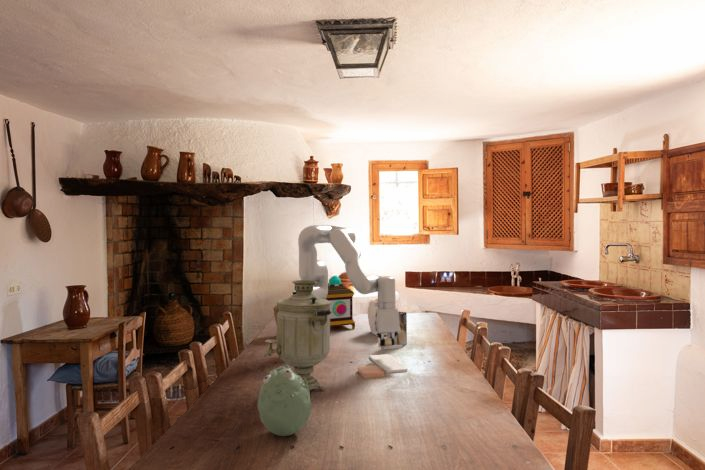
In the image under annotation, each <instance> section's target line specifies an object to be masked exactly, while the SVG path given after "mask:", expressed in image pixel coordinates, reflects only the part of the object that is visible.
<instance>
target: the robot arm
mask: <svg viewBox="0 0 705 470" xmlns="http://www.w3.org/2000/svg"><path fill="white" fill-rule="evenodd" d="M297 241H298V243H297V244H298V277H299V279H300V280H312V281H316V283H315V284H314V285H313V291H312V294H313V295H315V296H317V297H318V298H321V299H326V297H327V294H328V283H329V270H328V266H327V265H326V263H325V262H324V261H323V260H319V259H318V251H317V248H316V246H315V245H317V244H330V245H331V247H332V248H333V249H334V250H335V252H336V254H338V256H339V258H340V259H341V260H342V262H343V263H344V268H345V272H346V276H347V279H348V280H349V282H350V284H351V285H352V286H353V288H354V289H355V290H356V291H357V292H358V293H360V294H361V295H368V294H372V293H377V298H378V301H377V303H375V306H377V307H378V308H377V309H376V315H375V327H374V329H373V331H372V332H371V334H372V333H373V334H372V335H375V336H376V337H377V338H380V346H385V340H384V338H385V335H384V333H389V332H390V338H391V341H392V345H394V338H395V337H396V335H397V334H399V333H400V332H402V330H401V328H400V324H399V314H398V312H399V310H398V308H397V307H396V308H395V305H396V279H395V277H393V276H382V275H377V274H371V275H365V272H364V271H363V270H362V269H361V267H360V264H359V260H360V257H361V251H360V250H359V249H358V247H357V246H356V245H355V242H356V234H355V232H354V230H352V229H351V228H348V227H342V226H337V225H330V224H329V225H328V224H314V225H309V226H308V225H307V226H306V227H304V228H303V229H302V230H301V231H300V233H299V234H298V240H297ZM377 331H378V332H379V333H377Z"/></svg>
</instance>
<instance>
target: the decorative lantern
mask: <svg viewBox="0 0 705 470" xmlns="http://www.w3.org/2000/svg"><path fill="white" fill-rule="evenodd" d="M354 295H355V292H354V291H353V290H352V289H351V288H348V287H346V286H345V285H344V284H343V283H342V281H341V278H340V277H339V276H338V275H333V276H331V277H330V278H328V294H327V297H326V300H328V301H330V302H331V304H330V307H329V310H330V311H331V312H332V313H331V314H330V328H331V327H333V328H334V327H341V326H350V325H351V329H352V330H354V329H356V328H355V327H356V323H355V321H354V318H353V297H354Z"/></svg>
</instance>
